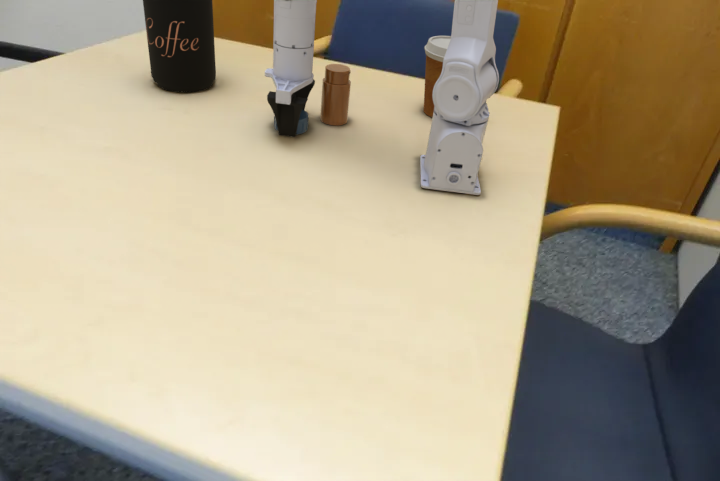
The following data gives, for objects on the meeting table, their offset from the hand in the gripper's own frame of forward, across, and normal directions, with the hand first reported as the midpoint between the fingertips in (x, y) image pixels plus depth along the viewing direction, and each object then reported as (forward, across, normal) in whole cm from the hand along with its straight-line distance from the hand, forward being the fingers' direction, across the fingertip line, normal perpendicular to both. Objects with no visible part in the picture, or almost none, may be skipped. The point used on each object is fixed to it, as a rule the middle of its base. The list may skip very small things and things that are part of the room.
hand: (290, 132), depth 86 cm
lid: (-3, 0, 0) cm, 3 cm away
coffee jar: (0, -13, -21) cm, 25 cm away
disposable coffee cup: (-1, -14, +24) cm, 28 cm away
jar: (-1, -5, +6) cm, 8 cm away
